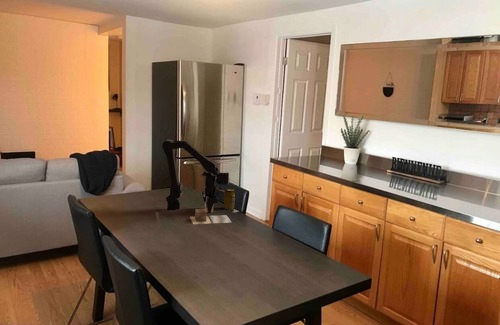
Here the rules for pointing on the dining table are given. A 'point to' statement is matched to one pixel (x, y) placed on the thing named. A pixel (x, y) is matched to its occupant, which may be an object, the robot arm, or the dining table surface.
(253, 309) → the dining table surface
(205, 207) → the salmon orange block
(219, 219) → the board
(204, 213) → the walnut block
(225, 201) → the condiment
